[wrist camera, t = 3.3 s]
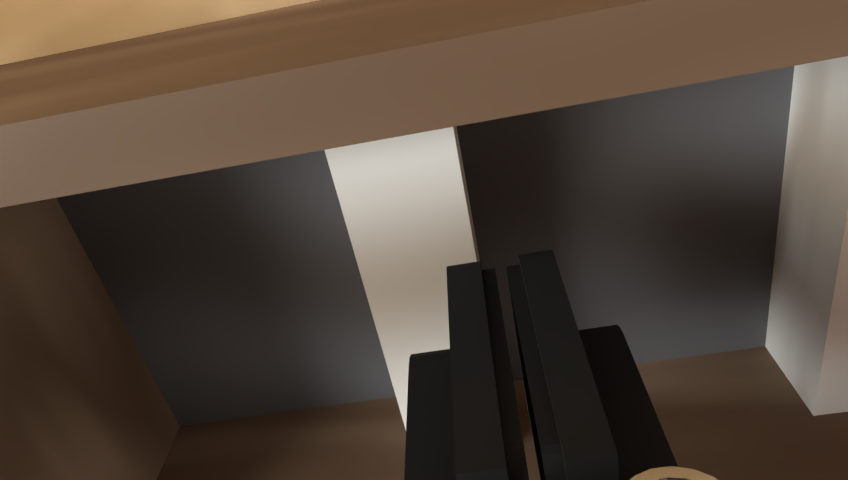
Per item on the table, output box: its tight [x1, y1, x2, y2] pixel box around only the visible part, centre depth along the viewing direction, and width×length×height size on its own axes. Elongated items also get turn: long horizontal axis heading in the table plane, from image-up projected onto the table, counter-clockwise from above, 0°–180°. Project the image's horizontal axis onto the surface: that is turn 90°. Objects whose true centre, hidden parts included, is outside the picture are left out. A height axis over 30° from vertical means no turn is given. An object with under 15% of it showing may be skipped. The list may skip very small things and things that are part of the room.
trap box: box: [0, 0, 848, 480], centre depth 11 cm, size 10×30×5 cm, turn 101°
